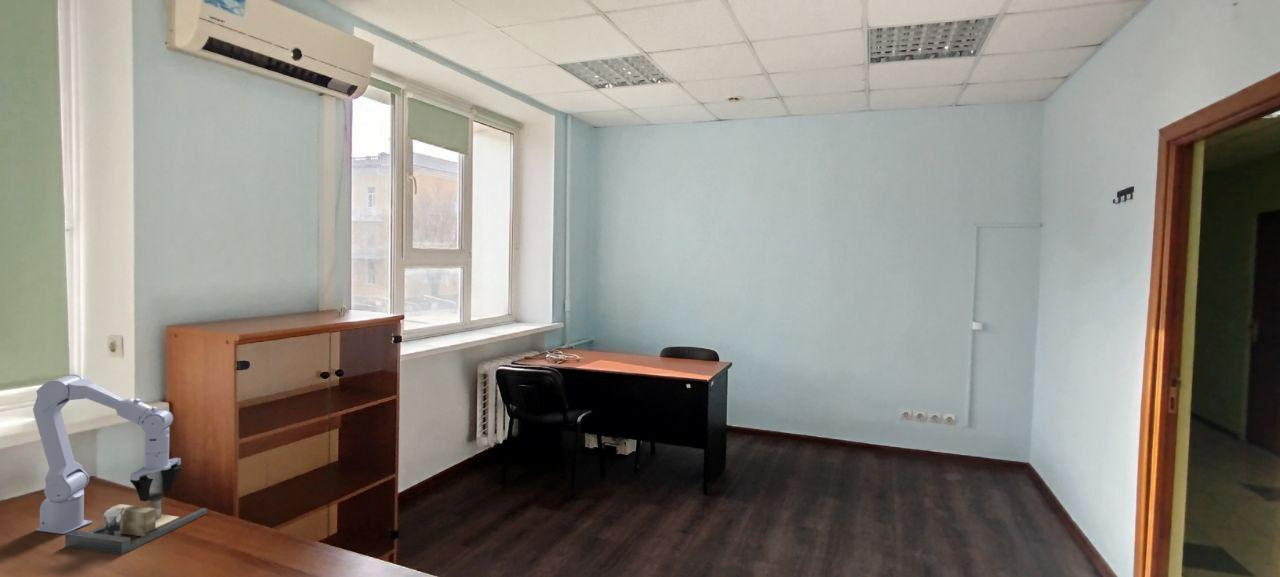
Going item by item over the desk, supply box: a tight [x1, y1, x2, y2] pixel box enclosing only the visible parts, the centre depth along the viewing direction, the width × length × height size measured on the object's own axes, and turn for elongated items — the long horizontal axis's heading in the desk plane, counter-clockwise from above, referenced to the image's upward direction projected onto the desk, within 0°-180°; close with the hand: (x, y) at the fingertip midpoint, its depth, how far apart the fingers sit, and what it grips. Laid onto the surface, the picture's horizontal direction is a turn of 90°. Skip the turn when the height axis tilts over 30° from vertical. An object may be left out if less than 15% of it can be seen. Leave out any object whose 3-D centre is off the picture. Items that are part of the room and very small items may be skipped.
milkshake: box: [103, 507, 125, 537], centre depth 171 cm, size 4×5×10 cm
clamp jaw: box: [108, 492, 181, 537], centre depth 180 cm, size 12×11×8 cm
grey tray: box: [64, 502, 208, 556], centre depth 179 cm, size 18×28×4 cm, turn 172°
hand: (156, 495), depth 183 cm, fingers open, 7 cm apart
